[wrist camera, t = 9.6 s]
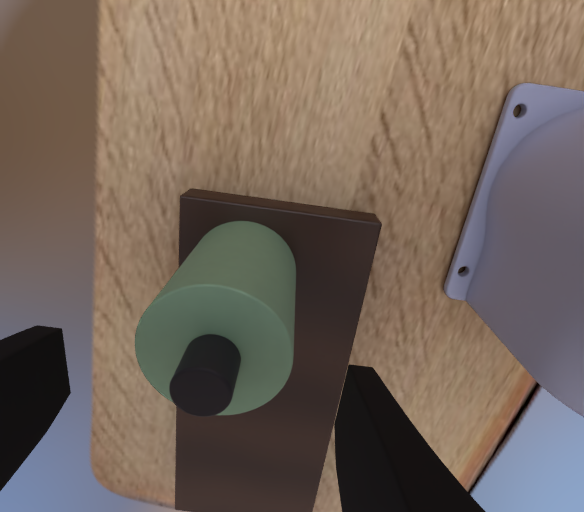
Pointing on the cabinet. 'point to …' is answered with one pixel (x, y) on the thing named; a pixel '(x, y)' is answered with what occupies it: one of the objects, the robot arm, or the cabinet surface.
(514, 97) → the robot arm
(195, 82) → the cabinet surface
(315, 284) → the walnut board
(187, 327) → the sanitizer bottle
